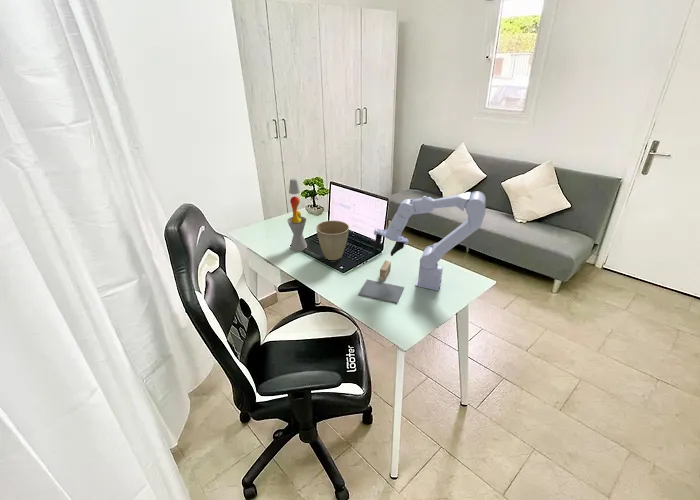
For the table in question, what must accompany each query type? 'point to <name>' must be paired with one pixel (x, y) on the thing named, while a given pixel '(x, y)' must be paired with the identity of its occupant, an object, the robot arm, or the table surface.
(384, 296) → the rubber mat
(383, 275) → the wooden tile
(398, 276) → the table surface
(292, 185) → the lava lamp
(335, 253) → the plant pot
